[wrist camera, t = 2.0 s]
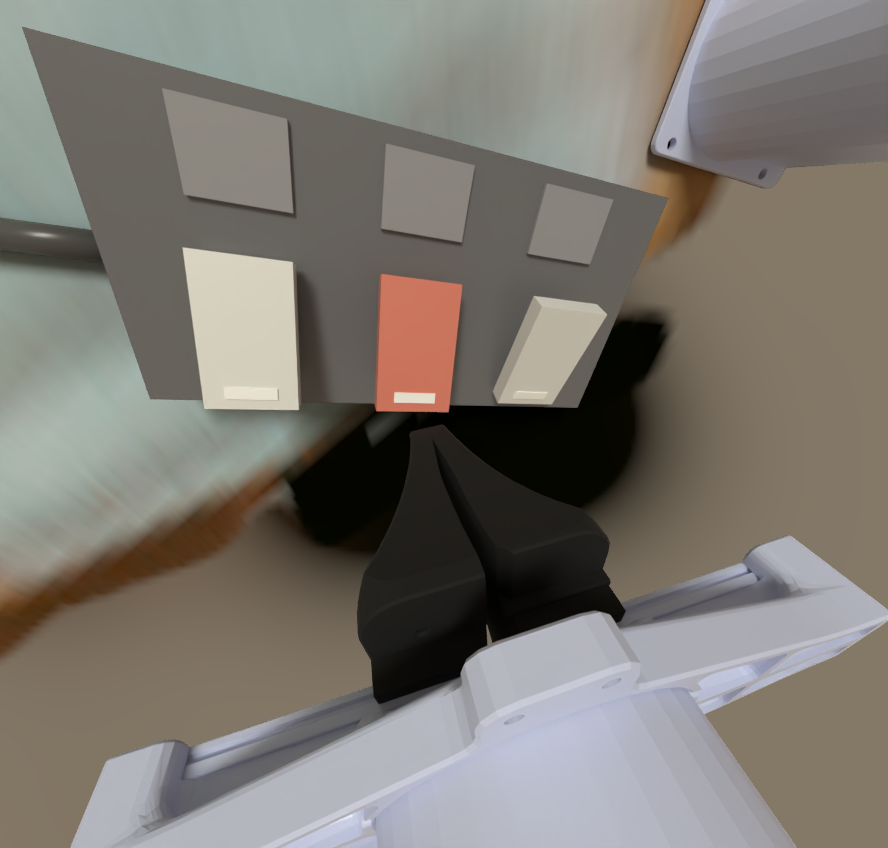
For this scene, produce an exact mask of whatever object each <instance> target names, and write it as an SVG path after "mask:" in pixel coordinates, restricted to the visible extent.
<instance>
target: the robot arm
mask: <svg viewBox="0 0 888 848" xmlns="http://www.w3.org/2000/svg"><path fill="white" fill-rule="evenodd" d="M669 140H670V147H669V148H668V149H667V145H668V142H669ZM651 151H652V153H653V154H654V155H657V156H660V157H664V158H667V159H670V160H673V161H677V162H680V163H683V164H686V165H689V166H693V167H696V168H699V169H702V170H705V171H709V172H712V173H715V174H718V175H722V176H725V177H728V178H731V179H734V180H738V181H741V182H744V183H747V184H751V185H754V186H757V187H760V188H771V187H773V186H774V185H775V184H776V183H777V182H778V180H779V179H780V177H781V176H782V174H783V172H784V170H785V169H786V168H788V167H805V166H823V165H838V164H856V163H871V162H872V163H873V162H888V0H706V1H705V3H704V6H703V9H702V11H701V14H700V16H699V19H698V22H697V24H696V27H695V29H694V32H693V35H692V37H691V40H690V43H689V45H688V48H687V50H686V53H685V56H684V58H683V61H682V63H681V66H680V69H679V71H678V74H677V76H676V79H675V82H674V84H673V87H672V89H671V92H670V95H669V97H668V100H667V102H666V105H665V108H664V110H663V113H662V115H661V118H660V121H659V123H658V126H657V128H656V131H655V134H654V136H653V139H652V142H651ZM759 173H760V174H759ZM409 435H410V441H411V450H410V460H409V467H408V472H407V477H406V481H405V486H404V489H403V493H402V496H401V499H400V502H399V505H398V508H397V510H396V513H395V516H394V518H393V520H392V523H391V525H390V527H389V529H388V531H387V533H386V535H385V537H384V539H383V541H382V543H381V545H380V547H379V549H378V550H377V552H376V554H375V555H374V557H373V559H372V560H371V562H370V564H369V566H368V567H367V569H366V570H365V572H364V574H363V579H362V583H361V588H360V593H359V600H358V610H357V622H358V636H359V640H360V642H361V644H362V646H363V647H364V649H365V651H366V652H367V654H368V656H369V657H370V659H371V666H372V682H373V686H371V687H368V688H365V689H362V690H359V691H356V692H353V693H350V694H347V695H344V696H341V697H338V698H335V699H332V700H329V701H326V702H323V703H320V704H317V705H314V706H311V707H308V708H305V709H302V710H300V711H296V712H293V713H290V714H288V715H284V716H281V717H278V718H275V719H273V720H269V721H266V722H263V723H260V724H257V725H255V726H252V727H248V728H245V729H242V730H239V731H236V732H234V733H231V734H227V735H225V736H222V737H219V738H215V739H213V740H209V741H207V742H204V743H201V744H198V745H195V746H192V747H189V746H188V745H187V744H185V743H184V742H182V741H179V740H164V741H159V742H156V743H153V744H150V745H146V746H143V747H141V748H138V749H134V750H131V751H128V752H125V753H122V754H119V755H116V756H113V757H111V758H110V759H109V760H107V761H106V763H105V765H104V768H103V770H102V772H101V775H100V777H99V780H98V782H97V785H96V787H95V790H94V792H93V794H92V797H91V799H90V801H89V804H88V806H87V808H86V811H85V813H84V816H83V818H82V821H81V823H80V825H79V828H78V830H77V833H76V835H75V837H74V840H73V842H72V845H71V847H70V848H797V847H796V846H795V844H794V843H793V841H792V840H791V838H790V837H789V836H788V834H787V833H786V831H785V830H784V828H783V827H782V825H781V824H780V823H779V821H778V820H777V818H776V817H775V815H774V814H773V812H772V811H771V810H770V808H769V807H768V805H767V804H766V802H765V801H764V800H763V798H762V797H761V795H760V794H759V792H758V791H757V790H756V788H755V787H754V785H753V784H752V782H751V781H750V779H749V778H748V777H747V775H746V774H745V772H744V771H743V770H742V768H741V766H740V765H739V764H738V762H737V761H736V759H735V758H734V756H733V755H732V754H731V752H730V751H729V749H728V748H727V746H726V745H725V744H724V742H723V741H722V739H721V738H720V736H719V735H718V734H717V732H716V731H715V729H714V728H713V726H712V725H711V724H710V722H709V721H708V719H707V718H706V716H705V715H704V714H706V713H708V712H710V711H713V710H715V709H717V708H719V707H721V706H724V705H725V704H728V703H730V702H732V701H734V700H737V699H738V698H741V697H743V696H745V695H747V694H749V693H752V692H754V691H756V690H758V689H760V688H763V687H765V686H767V685H769V684H772V683H774V682H776V681H778V680H780V679H782V678H784V677H787V676H789V675H792V674H794V673H796V672H799V671H801V670H803V669H806V668H808V667H810V666H813V665H815V664H818V663H820V662H823V661H825V660H827V659H829V658H832V657H835V656H836V655H838V654H839V653H841V652H842V651H844V650H845V649H847V648H848V647H850V646H851V645H853V644H854V643H856V642H857V641H859V640H860V639H862V638H863V637H865V636H866V635H868V634H869V633H871V632H872V631H874V630H875V629H877V628H878V627H880V626H881V625H883V624H884V623H886V622H887V621H888V610H887V609H886V608H885V607H883V606H882V605H881V604H880V603H878V602H877V601H876V600H874V599H873V598H872V597H870V596H869V595H868V594H866V593H865V592H864V591H862V590H861V589H860V588H858V587H857V586H856V585H855V584H853V583H852V582H851V581H849V580H848V579H847V578H845V577H844V576H843V575H841V574H840V573H839V572H837V571H836V570H835V569H834V568H832V567H831V566H830V565H828V564H827V563H826V562H824V561H823V560H822V559H820V558H819V557H818V556H816V555H815V554H814V553H812V552H811V551H810V550H808V549H807V548H806V547H805V546H803V545H802V544H801V543H799V542H798V541H797V540H795V539H794V538H793V537H792V536H783V537H780V538H777V539H774V540H771V541H768V542H765V543H762V544H759V545H757V546H755V547H754V548H752V549H751V550H750V551H749V552H748V553H747V554H746V555H745V557H744V559H743V562H741V563H739V564H736V565H732V566H729V567H727V568H723V569H720V570H717V571H714V572H712V573H709V574H706V575H702V576H699V577H697V578H693V579H690V580H688V581H685V582H682V583H679V584H676V585H673V586H670V587H667V588H664V589H661V590H658V591H655V592H652V593H649V594H646V595H643V596H640V597H637V598H634V599H631V600H628V601H625V602H622V603H620V601H619V600H618V598H617V597H616V595H615V594H614V593H613V591H612V590H611V588H610V587H609V585H610V579H609V578H608V576H607V575H606V573H605V572H604V570H603V566H604V563H605V560H606V557H607V554H608V551H609V544H610V542H609V540H608V537H607V536H606V534H605V533H604V532H603V531H602V529H601V528H600V527H599V526H598V524H597V523H596V522H595V521H594V520H593V519H592V518H591V517H590V516H589V515H588V514H587V513H586V512H585V511H584V510H583V509H580V508H577V507H574V506H571V505H568V504H565V503H561V502H558V501H556V500H553V499H550V498H548V497H546V496H543V495H541V494H538V493H536V492H534V491H532V490H530V489H528V488H526V487H524V486H522V485H520V484H518V483H516V482H514V481H512V480H510V479H509V478H507V477H505V476H504V475H502V474H501V473H499V472H497V471H496V470H494V469H493V468H492V467H490V466H489V465H487V464H486V463H485V462H483V461H482V460H481V459H479V458H478V457H477V456H476V455H474V454H473V453H472V452H471V451H470V450H469V449H467V448H466V447H465V446H464V445H463V444H462V443H461V442H460V441H459V440H458V439H457V438H456V437H455V436H454V435H453V434H452V433H451V432H450V431H449V430H448V429H447V428H446V427H445V426H444V425H438V426H434V427H429V428H425V429H420V430H416V431H412V432H411V433H410V434H409ZM486 624H487V625H488V629H489V632H490V635H491V639H492V644H490V645H487V631H486Z"/></svg>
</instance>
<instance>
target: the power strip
mask: <svg viewBox="0 0 888 848" xmlns="http://www.w3.org/2000/svg"><path fill="white" fill-rule="evenodd" d="M22 28H23V31H24V34H25V37H26V40H27V43H28V46H29V49H30V52H31V55H32V57H33V60H34V63H35V66H36V69H37V72H38V75H39V78H40V81H41V84H42V86H43V89H44V92H45V95H46V98H47V101H48V104H49V107H50V110H51V113H52V115H53V118H54V121H55V124H56V127H57V130H58V133H59V136H60V139H61V142H62V144H63V147H64V150H65V153H66V156H67V159H68V162H69V165H70V168H71V171H72V173H73V176H74V179H75V182H76V185H77V188H78V191H79V194H80V197H81V200H82V203H83V205H84V208H85V211H86V214H87V217H88V220H89V223H90V226H91V229H92V230H87V229H80V228H72V227H65V226H58V225H51V224H43V223H36V222H29V221H21V220H14V219H7V218H0V251H9V252H17V253H26V254H35V255H43V256H52V257H61V258H70V259H78V260H87V261H96V262H103V263H104V266H105V269H106V272H107V275H108V278H109V281H110V284H111V287H112V290H113V292H114V295H115V298H116V301H117V304H118V307H119V310H120V313H121V316H122V319H123V321H124V324H125V327H126V330H127V333H128V336H129V339H130V342H131V345H132V348H133V350H134V353H135V356H136V359H137V362H138V365H139V368H140V371H141V374H142V377H143V379H144V382H145V385H146V388H147V391H148V394H149V397H150V399H169V400H203V396H202V388H201V381H200V373H199V366H198V359H197V351H196V344H195V336H194V329H193V322H192V314H191V307H190V299H189V292H188V285H187V277H186V270H185V262H184V255H183V248H191V249H198V250H206V251H214V252H221V253H229V254H236V255H244V256H251V257H259V258H266V259H274V260H281V261H289V262H293V263H295V264H296V279H297V305H298V331H299V358H300V384H301V402H321V403H372V404H375V378H376V350H377V321H378V292H379V275H380V274H387V275H394V276H402V277H409V278H417V279H424V280H432V281H439V282H447V283H454V284H462V294H461V303H460V312H459V322H458V331H457V340H456V349H455V358H454V367H453V377H452V386H451V395H450V404H449V405H473V406H524V407H575V408H577V407H578V405H579V403H580V400H581V398H582V396H583V393H584V391H585V389H586V386H587V384H588V382H589V380H590V377H591V375H592V373H593V370H594V368H595V366H596V363H597V361H598V359H599V357H600V354H601V352H602V350H603V347H604V345H605V343H606V340H607V338H608V336H609V334H610V331H611V329H612V327H613V324H614V322H615V320H616V317H617V315H618V313H619V311H620V308H621V306H622V304H623V301H624V299H625V297H626V294H627V292H628V290H629V288H630V285H631V283H632V281H633V278H634V276H635V274H636V272H637V269H638V267H639V265H640V262H641V260H642V258H643V255H644V253H645V251H646V249H647V246H648V244H649V242H650V239H651V237H652V235H653V232H654V230H655V228H656V226H657V223H658V221H659V219H660V216H661V214H662V212H663V209H664V207H665V205H666V203H667V200H668V198H666V197H662V196H658V195H655V194H651V193H647V192H643V191H640V190H636V189H632V188H628V187H624V186H621V185H617V184H613V183H609V182H606V181H602V180H598V179H594V178H591V177H587V176H583V175H579V174H575V173H572V172H568V171H564V170H560V169H557V168H553V167H549V166H545V165H542V164H538V163H534V162H530V161H526V160H523V159H519V158H515V157H511V156H508V155H504V154H500V153H496V152H493V151H489V150H485V149H481V148H477V147H474V146H470V145H466V144H462V143H459V142H455V141H451V140H447V139H444V138H440V137H436V136H432V135H428V134H425V133H421V132H417V131H413V130H410V129H406V128H402V127H398V126H395V125H391V124H387V123H383V122H379V121H376V120H372V119H368V118H364V117H361V116H357V115H353V114H349V113H345V112H342V111H338V110H334V109H330V108H327V107H323V106H319V105H315V104H312V103H308V102H304V101H300V100H296V99H293V98H289V97H285V96H281V95H278V94H274V93H270V92H266V91H263V90H259V89H255V88H251V87H247V86H244V85H240V84H236V83H232V82H229V81H225V80H221V79H217V78H214V77H210V76H206V75H202V74H198V73H195V72H191V71H187V70H183V69H180V68H176V67H172V66H168V65H165V64H161V63H157V62H153V61H149V60H146V59H142V58H138V57H134V56H131V55H127V54H123V53H119V52H116V51H112V50H108V49H104V48H100V47H97V46H93V45H89V44H85V43H82V42H78V41H74V40H70V39H67V38H63V37H59V36H55V35H51V34H48V33H44V32H40V31H36V30H33V29H29V28H25V27H22ZM182 247H183V248H182ZM534 296H538V297H546V298H554V299H561V300H569V301H576V302H584V303H592V304H597V305H598V306H599V307H600V308H601V309H602V310H603V311H604V312H605V313H606V314H607V316H606V318H605V319H604V321H603V323H602V324H601V326H600V327H599V329H598V331H597V332H596V334H595V335H594V337H593V339H592V340H591V342H590V343H589V345H588V347H587V348H586V350H585V352H584V353H583V355H582V356H581V358H580V360H579V361H578V363H577V364H576V366H575V368H574V369H573V371H572V372H571V374H570V376H569V377H568V379H567V381H566V382H565V384H564V385H563V387H562V389H561V390H560V392H559V393H558V395H557V397H556V398H555V400H554V401H553V403H552V404H510V403H497V400H496V398H495V396H494V393H493V390H494V387H495V385H496V383H497V380H498V378H499V376H500V373H501V371H502V369H503V366H504V364H505V362H506V359H507V357H508V355H509V352H510V350H511V348H512V345H513V343H514V341H515V338H516V336H517V334H518V332H519V329H520V327H521V325H522V322H523V320H524V318H525V315H526V313H527V311H528V308H529V306H530V304H531V301H532V299H533V297H534Z"/></svg>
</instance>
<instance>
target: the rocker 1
mask: <svg viewBox="0 0 888 848" xmlns="http://www.w3.org/2000/svg"><path fill="white" fill-rule="evenodd" d="M182 248H183V247H182ZM183 255H184V262H185V270H186V277H187V285H188V292H189V299H190V307H191V314H192V322H193V329H194V336H195V344H196V351H197V359H198V366H199V373H200V381H201V388H202V396H203V403H204V409H252V410H299V408H300V406H301V384H300V358H299V331H298V305H297V279H296V264H295V263H293V262H289V261H281V260H274V259H266V258H259V257H251V256H244V255H236V254H229V253H221V252H214V251H206V250H198V249H191V248H183Z"/></svg>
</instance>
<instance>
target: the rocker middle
mask: <svg viewBox="0 0 888 848" xmlns="http://www.w3.org/2000/svg"><path fill="white" fill-rule="evenodd" d="M461 294H462V284H454V283H447V282H439V281H432V280H424V279H417V278H409V277H402V276H394V275H387V274H380V275H379V292H378V321H377V350H376V378H375V408H376V411H404V412H449V404H450V395H451V386H452V377H453V367H454V358H455V349H456V340H457V331H458V322H459V312H460V303H461Z"/></svg>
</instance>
